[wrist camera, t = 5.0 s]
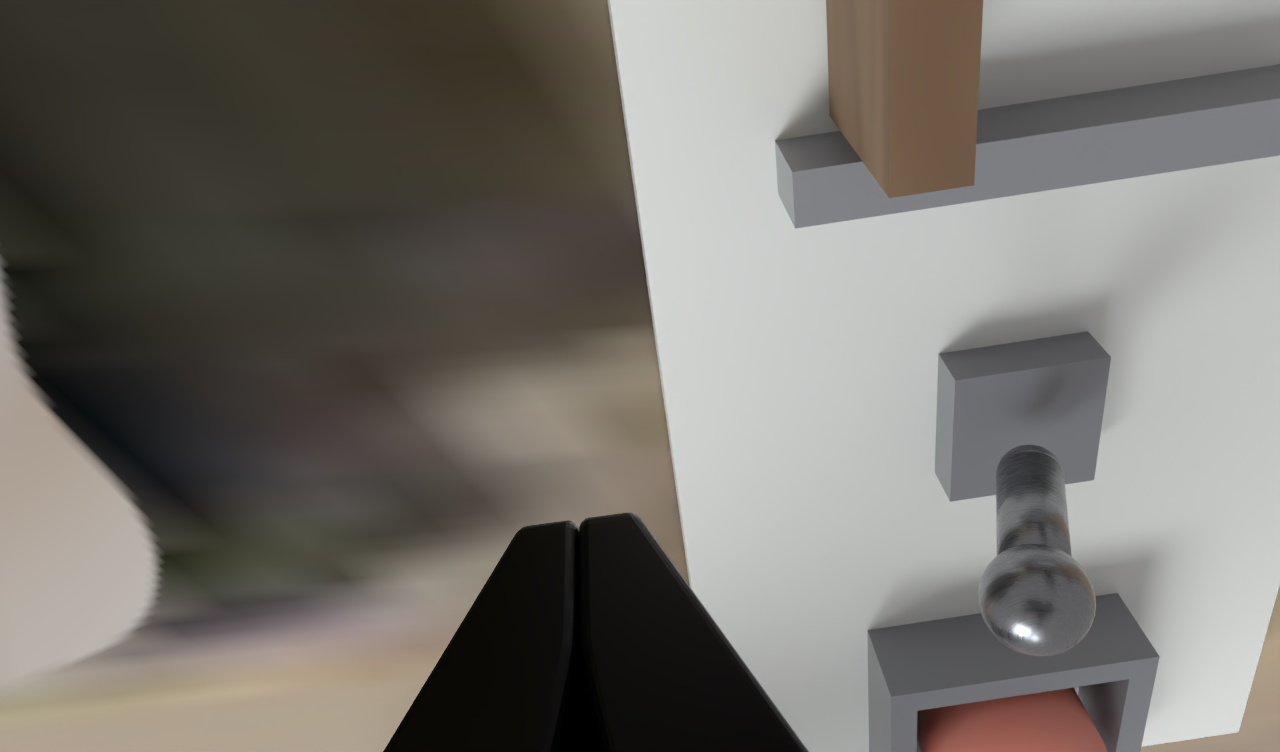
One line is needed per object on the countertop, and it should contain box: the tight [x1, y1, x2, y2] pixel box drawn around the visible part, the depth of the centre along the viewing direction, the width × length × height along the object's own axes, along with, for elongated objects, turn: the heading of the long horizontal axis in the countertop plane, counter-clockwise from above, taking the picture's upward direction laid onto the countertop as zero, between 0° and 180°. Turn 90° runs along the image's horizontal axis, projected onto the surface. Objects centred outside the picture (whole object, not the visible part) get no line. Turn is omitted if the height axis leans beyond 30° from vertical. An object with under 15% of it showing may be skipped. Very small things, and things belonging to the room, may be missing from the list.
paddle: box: [826, 0, 983, 198], centre depth 15 cm, size 1×4×4 cm, turn 8°
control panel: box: [607, 0, 1280, 752], centre depth 21 cm, size 14×25×4 cm, turn 7°
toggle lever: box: [978, 445, 1096, 657], centre depth 18 cm, size 2×2×5 cm
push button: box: [917, 687, 1107, 752], centre depth 25 cm, size 4×4×2 cm
